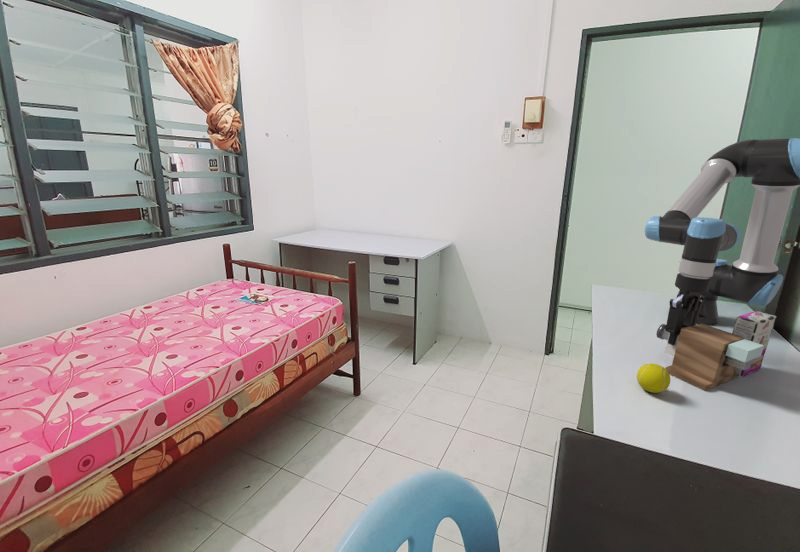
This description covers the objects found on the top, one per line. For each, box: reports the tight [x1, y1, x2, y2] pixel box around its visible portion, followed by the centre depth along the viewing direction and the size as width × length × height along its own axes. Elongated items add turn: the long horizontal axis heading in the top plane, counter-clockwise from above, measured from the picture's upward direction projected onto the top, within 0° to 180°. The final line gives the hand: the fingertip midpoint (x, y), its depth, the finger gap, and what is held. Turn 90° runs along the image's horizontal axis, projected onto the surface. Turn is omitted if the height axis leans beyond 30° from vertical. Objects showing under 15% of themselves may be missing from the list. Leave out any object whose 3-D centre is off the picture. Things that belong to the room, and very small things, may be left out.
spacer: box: [726, 339, 764, 362], centre depth 96 cm, size 8×4×3 cm, turn 117°
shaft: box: [656, 323, 753, 370], centre depth 105 cm, size 4×21×4 cm, turn 27°
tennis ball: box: [636, 362, 671, 394], centre depth 96 cm, size 7×7×7 cm
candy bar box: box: [732, 310, 777, 378], centre depth 107 cm, size 11×5×16 cm, turn 117°
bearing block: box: [664, 323, 744, 391], centre depth 104 cm, size 16×10×12 cm, turn 117°
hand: (674, 352), depth 111 cm, fingers closed on shaft, 3 cm apart
